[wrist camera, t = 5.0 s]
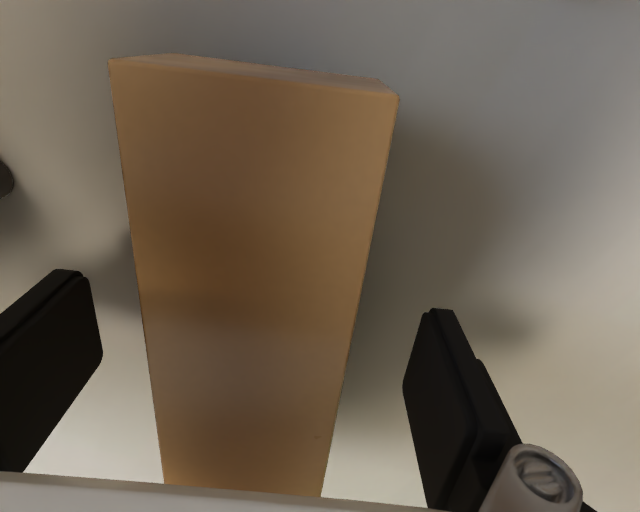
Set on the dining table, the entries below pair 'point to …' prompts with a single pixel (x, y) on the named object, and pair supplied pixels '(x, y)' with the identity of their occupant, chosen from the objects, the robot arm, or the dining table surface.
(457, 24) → the dining table surface
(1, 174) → the rack
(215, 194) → the tan rectangular block
